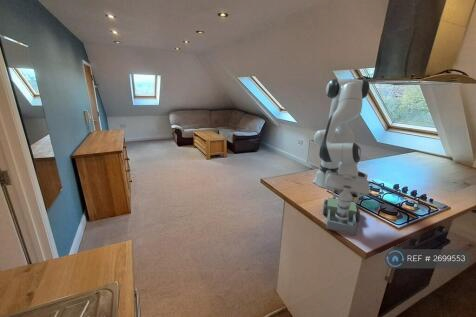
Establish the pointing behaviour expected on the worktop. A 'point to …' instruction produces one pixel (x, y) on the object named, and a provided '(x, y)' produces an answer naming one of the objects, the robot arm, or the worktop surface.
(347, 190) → the silver metal bottle
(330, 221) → the toy pickup truck
